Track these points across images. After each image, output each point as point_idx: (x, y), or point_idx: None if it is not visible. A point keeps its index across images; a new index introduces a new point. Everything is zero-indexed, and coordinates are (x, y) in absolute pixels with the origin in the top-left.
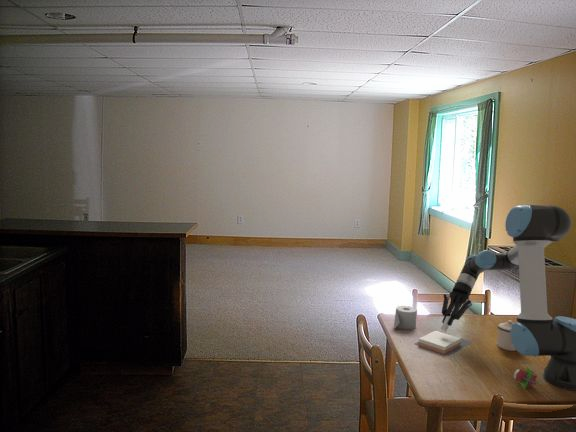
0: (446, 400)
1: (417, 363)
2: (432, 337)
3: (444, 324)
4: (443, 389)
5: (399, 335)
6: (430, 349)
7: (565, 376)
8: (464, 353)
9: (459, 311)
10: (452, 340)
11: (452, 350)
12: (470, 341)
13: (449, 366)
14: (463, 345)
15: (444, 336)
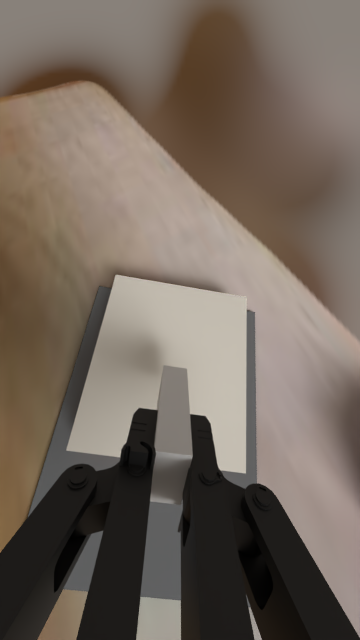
0: (45, 89)
1: (169, 195)
2: (206, 347)
3: (174, 389)
4: (62, 117)
5: (352, 372)
6: None
7: None
8: (43, 361)
9: (18, 571)
10: (105, 375)
11: None
12: None
13: (76, 221)
14: (60, 455)
15: None
